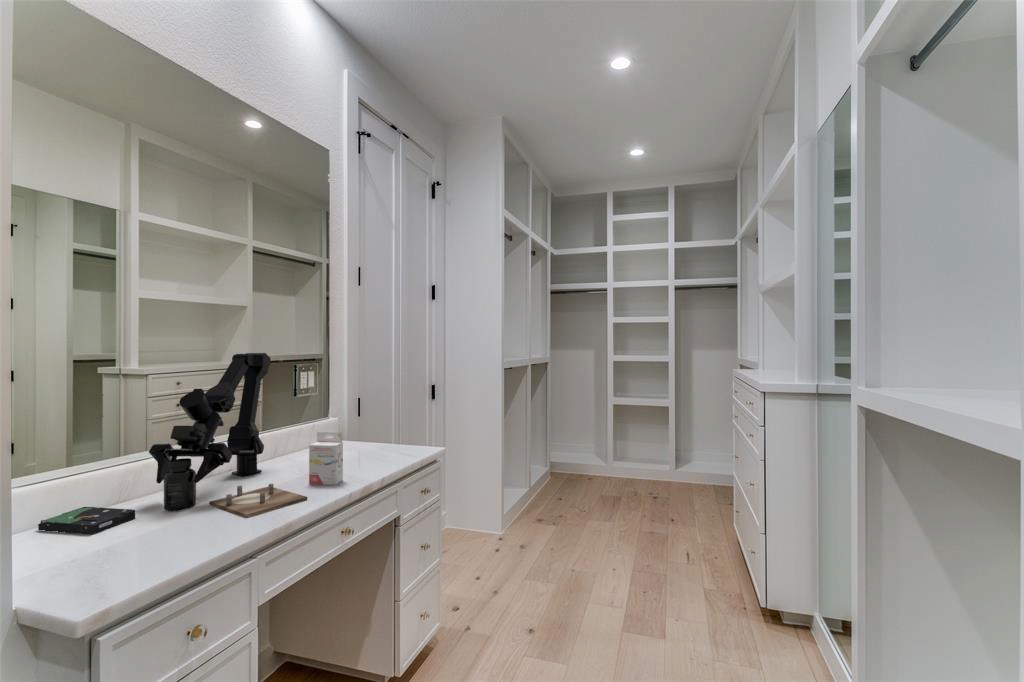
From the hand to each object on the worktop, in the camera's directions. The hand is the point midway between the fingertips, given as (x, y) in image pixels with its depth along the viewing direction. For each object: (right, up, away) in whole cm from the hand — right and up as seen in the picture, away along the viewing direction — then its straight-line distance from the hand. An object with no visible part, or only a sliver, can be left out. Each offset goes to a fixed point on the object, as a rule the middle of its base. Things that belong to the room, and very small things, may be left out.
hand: (176, 482), depth 123 cm
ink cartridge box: (+29, -7, +23) cm, 37 cm away
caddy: (+18, -7, +5) cm, 20 cm away
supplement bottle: (0, -7, +1) cm, 7 cm away
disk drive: (-13, -7, -10) cm, 18 cm away
